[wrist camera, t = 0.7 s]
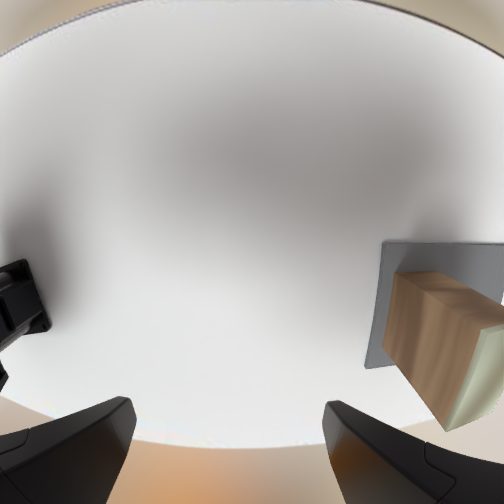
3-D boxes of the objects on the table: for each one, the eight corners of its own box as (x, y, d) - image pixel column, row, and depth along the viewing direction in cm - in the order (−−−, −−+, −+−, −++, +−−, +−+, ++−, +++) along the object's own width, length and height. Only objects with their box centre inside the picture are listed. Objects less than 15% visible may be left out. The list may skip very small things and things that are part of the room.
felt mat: (364, 365, 21) (366, 369, 20) (382, 242, 19) (385, 244, 18) (486, 341, 21) (489, 343, 20) (508, 245, 19) (511, 246, 18)
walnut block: (381, 346, 20) (445, 432, 10) (394, 272, 19) (487, 334, 9) (422, 340, 20) (492, 412, 10) (436, 270, 19) (529, 321, 9)
